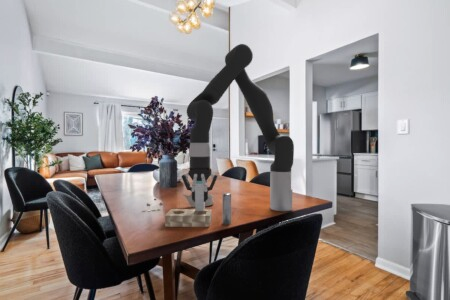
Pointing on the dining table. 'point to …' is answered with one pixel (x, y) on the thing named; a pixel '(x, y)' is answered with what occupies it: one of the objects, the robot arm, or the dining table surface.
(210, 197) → the grey spiky piece
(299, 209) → the dining table surface
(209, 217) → the socket block
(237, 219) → the dining table surface
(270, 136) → the robot arm
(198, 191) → the square bit
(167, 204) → the dining table surface
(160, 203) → the diorama
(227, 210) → the round bit
